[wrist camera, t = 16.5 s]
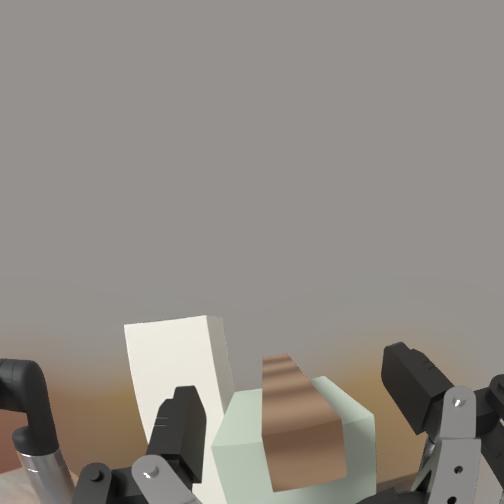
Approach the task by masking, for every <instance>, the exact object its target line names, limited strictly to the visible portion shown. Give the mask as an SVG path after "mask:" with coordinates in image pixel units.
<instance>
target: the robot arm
mask: <svg viewBox="0 0 504 504" xmlns="http://www.w3.org/2000/svg"><path fill="white" fill-rule="evenodd" d="M381 377H382V382H383V384H384V386H385V388H386V389H387V391H388V392H389V394H390V395H391V397H392V398H393V400H394V401H395V403H396V404H397V405H398V407H399V409H400V410H401V412H402V414H403V415H404V416H405V418H406V420H407V421H408V423H409V424H410V426H411V427H412V429H413V431H414V432H415V434H416V435H418V434H420V433H422V432H424V431H426V433H427V434H428V436H427V438H426V443H425V447H424V451H423V456H422V459H421V464H420V467H419V471H418V474H417V477H416V479H415V481H414V483H413V485H412V488H411V490H410V491H403V492H396V491H395V489H394V487H393V488H390V489H388V490H385V491H383V492H380V493H378V494H375V495H373V496H370V497H367V498H365V499H363V500H361V501H359V502H358V503H356V504H473V501H474V497H475V491H476V486H477V479H478V472H479V464H480V463H479V462H480V453H482V455H483V456H484V458H485V459H486V461H487V463H488V464H489V466H490V467H491V469H492V471H493V472H494V474H495V476H496V478H497V479H498V481H499V483H500V484H501V486H502V488H503V492H502V498H501V500H500V503H499V504H504V426H503V425H502V424H501V422H500V419H501V418H502V419H503V421H504V374H501V375H497V376H495V377H494V378H493V379H492V380H491V382H490V385H489V387H487V388H483V389H480V390H476V391H472V390H471V389H469V388H468V387H465V386H454V385H453V384H452V383H451V382H450V381H449V380H448V379H447V378H446V376H445V375H444V374H443V373H442V372H441V371H440V370H439V369H438V368H437V367H435V365H434V364H433V363H432V362H430V360H429V359H428V358H427V357H426V356H425V355H424V354H423V353H421V352H419V351H417V350H415V349H412V350H410V349H409V348H408V347H407V346H406V345H405V344H404V343H403V342H398V343H395V344H392V345H390V346H386V347H385V349H384V355H383V364H382V371H381ZM0 409H4V410H10V411H16V412H24V413H26V414H27V419H28V426H25V427H21V428H19V429H17V430H15V431H14V432H13V433H12V440H13V443H14V446H15V448H16V451H17V454H18V456H19V458H20V461H21V463H22V466H23V468H24V470H25V472H26V475H27V477H28V479H29V481H30V483H31V485H32V487H33V489H34V491H35V493H36V495H37V497H38V499H39V500H40V502H41V504H202V503H201V502H200V501H199V499H198V498H197V497H196V496H195V495H194V494H193V493H192V487H193V484H202V473H203V460H204V447H205V436H206V425H207V418H206V412H205V409H204V406H203V404H202V402H201V399H200V397H199V394H198V392H197V389H196V387H195V386H194V385H191V386H177V387H176V388H175V391H174V395H173V399H165V401H164V402H163V403H162V404H161V405H160V407H159V409H158V413H157V416H156V417H157V419H155V423H154V427H153V430H152V434H151V437H150V441H149V445H148V449H147V452H146V455H145V456H143V457H141V458H139V459H138V460H136V462H135V463H134V464H133V466H132V467H128V468H122V469H114V470H110V469H109V467H107V466H106V465H105V464H102V463H91V464H89V465H87V466H86V467H84V468H83V470H82V471H81V474H80V476H79V479H78V482H77V486H76V485H75V483H74V481H73V479H72V476H71V474H70V472H69V469H68V467H67V465H66V462H65V460H64V457H63V454H62V452H61V449H60V446H59V443H58V440H57V435H56V429H55V424H54V421H53V417H52V413H51V408H50V403H49V398H48V391H47V386H46V382H45V378H44V375H43V372H42V370H41V368H40V367H39V365H38V364H37V363H36V362H34V361H31V360H16V359H0Z"/></svg>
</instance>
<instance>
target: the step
mask: <svg viewBox="0 0 504 504" xmlns="http://www.w3.org/2000/svg"><path fill="white" fill-rule="evenodd" d="M309 381H310V382H311V383H312V384H313V386H314V387H315V388H316V389H317V390H318V392H319V393H320V394H321V395H322V396H323V398H324V399H325V400H326V401H327V402H328V403H329V405H330V406H331V407H332V408H333V409H334V411H335V412H336V413H337V414H338V415H339V416H340V417H341V419H342V427H343V437H344V447H345V458H346V472H347V477H345V478H341V479H338V480H334V481H330V482H326V483H322V484H318V485H313V486H309V487H304V488H299V489H293V490H287V491H281V492H274V493H273V489H272V485H271V480H270V475H269V470H268V466H267V461H266V456H265V451H264V446H263V441H262V436H261V432H262V389H255V390H248V391H240V392H234V394H233V397H232V399H231V401H230V404H229V406H228V408H227V411H226V413H225V415H224V418H223V420H222V422H221V425H220V427H219V429H218V431H217V434H216V436H215V438H214V440H213V443H212V445H211V449H212V453H213V457H214V461H215V464H216V468H217V471H218V475H219V478H220V482H221V485H222V489H223V492H224V495H225V498H226V501H227V504H356V503H358V502H359V501H361V500H363V499H365V498H367V497H370V496H373V495H375V494H376V442H375V425H374V415H373V414H372V413H370V412H369V411H368V410H367V409H365V408H364V407H363V406H361V405H360V404H359V403H358V402H356V401H355V400H354V399H352V398H351V397H350V396H349V395H347V394H346V393H345V392H344V391H342V390H341V389H340V388H339V387H337V386H336V385H335V384H334V383H332V382H331V381H330V380H328V379H327V378H326V377H325V376H322V377H318V378H313V379H309Z"/></svg>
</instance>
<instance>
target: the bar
mask: <svg viewBox="0 0 504 504" xmlns="http://www.w3.org/2000/svg"><path fill="white" fill-rule="evenodd" d="M261 436H262V441H263V446H264V451H265V456H266V461H267V466H268V470H269V475H270V480H271V485H272V489H273V493H274V492H281V491H287V490H293V489H299V488H304V487H309V486H313V485H318V484H322V483H326V482H330V481H334V480H338V479H341V478H345V477H347V472H346V458H345V447H344V437H343V427H342V419H341V417H340V416H339V415H338V414H337V413H336V412H335V411H334V409H333V408H332V407H331V406H330V405H329V403H328V402H327V401H326V400H325V399H324V398H323V396H322V395H321V394H320V393H319V392H318V390H317V389H316V388H315V387H314V386H313V384H312V383H311V382H310V381H309V380H308V379H307V377H306V376H305V375H304V374H303V372H302V371H301V370H300V369H299V367H298V366H297V365H296V364H295V363H294V361H293V360H292V359H291V358H290V356H289V355H288V354H282V355H276V356H271V357H265V358H263V376H262V432H261Z"/></svg>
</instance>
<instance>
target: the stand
mask: <svg viewBox="0 0 504 504" xmlns="http://www.w3.org/2000/svg"><path fill="white" fill-rule="evenodd" d="M124 328H125V336H126V343H127V350H128V356H129V363H130V368H131V374H132V379H133V384H134V389H135V393H136V399H137V403H138V407H139V411H140V415H141V419H142V423H143V427H144V431H145V434H146V438H147V441H148V445H149V441H150V437H151V434H152V430H153V427H154V423H155V419H157V417H156V416H157V413H158V409H159V407H160V405H161V404H162V403H163V402H164V401H165V399H173V395H174V391H175V388H176V387H177V386H191V385H194V386H195V387H196V389H197V392H198V394H199V397H200V399H201V402H202V404H203V406H204V409H205V412H206V418H207V425H206V436H205V447H204V460H203V473H202V484H193V487H192V493H193V494H194V495H195V496H196V497H197V498H198V499H199V501H200V502H201V503H202V504H227V501H226V498H225V495H224V492H223V489H222V485H221V482H220V478H219V475H218V471H217V468H216V464H215V461H214V457H213V453H212V449H211V445H212V443H213V440H214V438H215V436H216V434H217V431H218V429H219V427H220V425H221V422H222V420H223V418H224V415H225V413H226V411H227V408H228V406H229V404H230V401H231V399H232V397H233V394H234V392H235V389H234V384H233V378H232V373H231V367H230V362H229V356H228V350H227V344H226V338H225V333H224V327H223V320H222V318H219V317H213V316H206V315H205V316H198V317H191V318H176V319H168V320H159V321H150V322H143V323H139V324H129V325H124Z"/></svg>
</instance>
